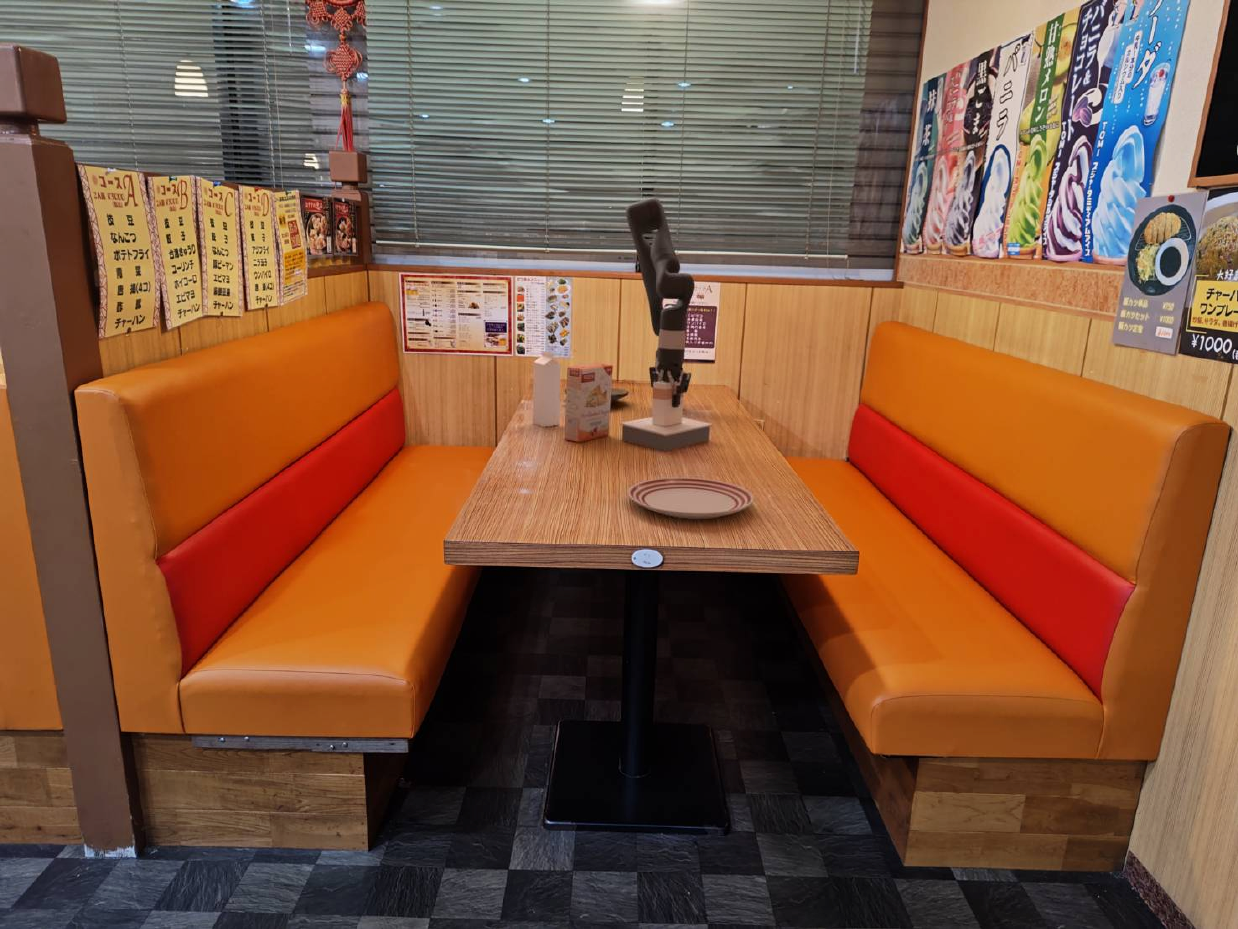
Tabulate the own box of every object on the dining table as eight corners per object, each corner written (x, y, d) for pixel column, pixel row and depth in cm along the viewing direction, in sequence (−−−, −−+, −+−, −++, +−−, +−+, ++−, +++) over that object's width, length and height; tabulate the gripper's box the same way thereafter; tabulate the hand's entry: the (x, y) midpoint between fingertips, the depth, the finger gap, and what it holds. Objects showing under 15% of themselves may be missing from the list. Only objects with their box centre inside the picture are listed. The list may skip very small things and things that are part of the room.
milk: (542, 427, 247) (543, 354, 241) (532, 423, 251) (533, 351, 245) (559, 425, 250) (561, 353, 244) (549, 421, 255) (550, 350, 249)
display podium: (666, 430, 250) (667, 413, 249) (711, 440, 239) (712, 424, 238) (619, 439, 235) (620, 422, 234) (664, 452, 224) (665, 434, 223)
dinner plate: (601, 502, 180) (601, 488, 179) (683, 481, 199) (684, 468, 198) (696, 538, 161) (698, 522, 160) (777, 510, 180) (779, 496, 179)
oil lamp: (561, 409, 273) (562, 386, 271) (566, 392, 302) (566, 372, 300) (628, 412, 274) (629, 389, 272) (626, 395, 303) (627, 374, 301)
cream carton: (651, 424, 234) (653, 382, 231) (670, 420, 240) (671, 379, 237) (664, 426, 231) (665, 384, 228) (682, 422, 237) (683, 381, 234)
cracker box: (579, 443, 229) (582, 369, 223) (563, 439, 232) (565, 366, 227) (610, 435, 240) (613, 364, 234) (594, 432, 243) (597, 361, 238)
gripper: (643, 343, 232) (640, 402, 236) (683, 350, 223) (679, 411, 227) (660, 342, 237) (657, 399, 242) (699, 348, 228) (695, 408, 232)
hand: (667, 405), depth 234 cm, fingers open, 5 cm apart
